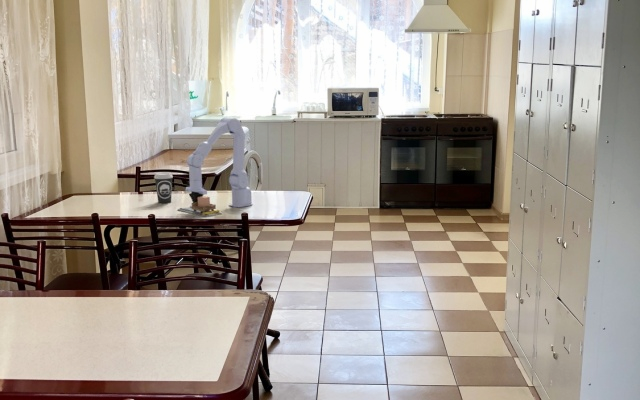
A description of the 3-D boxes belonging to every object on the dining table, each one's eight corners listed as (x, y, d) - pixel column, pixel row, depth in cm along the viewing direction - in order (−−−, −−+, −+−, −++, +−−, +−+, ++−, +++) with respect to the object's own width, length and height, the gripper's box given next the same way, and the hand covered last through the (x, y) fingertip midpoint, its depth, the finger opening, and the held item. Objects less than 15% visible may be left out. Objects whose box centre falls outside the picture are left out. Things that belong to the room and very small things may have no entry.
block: (204, 206, 325) (204, 195, 324) (210, 207, 322) (209, 196, 321) (198, 207, 322) (197, 197, 321) (203, 208, 320) (202, 198, 319)
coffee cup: (178, 201, 353) (176, 172, 350) (166, 204, 345) (165, 175, 342) (163, 200, 357) (161, 171, 354) (151, 203, 348) (149, 174, 346)
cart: (205, 208, 328) (205, 200, 328) (215, 211, 323) (215, 202, 322) (191, 211, 323) (191, 202, 322) (202, 213, 317) (201, 205, 316)
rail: (192, 207, 336) (192, 204, 336) (221, 214, 321) (221, 210, 320) (177, 210, 330) (177, 206, 330) (206, 216, 314) (206, 213, 314)
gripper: (179, 179, 326) (181, 206, 329) (197, 182, 316) (199, 210, 319) (192, 177, 331) (193, 204, 333) (210, 180, 321) (211, 208, 324)
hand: (196, 207), depth 326 cm, fingers closed
